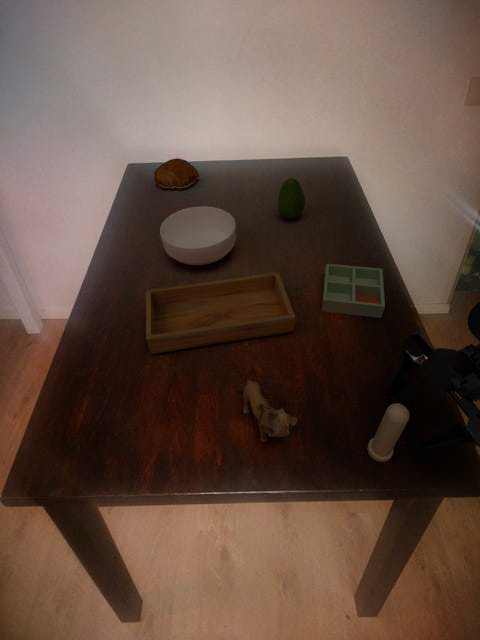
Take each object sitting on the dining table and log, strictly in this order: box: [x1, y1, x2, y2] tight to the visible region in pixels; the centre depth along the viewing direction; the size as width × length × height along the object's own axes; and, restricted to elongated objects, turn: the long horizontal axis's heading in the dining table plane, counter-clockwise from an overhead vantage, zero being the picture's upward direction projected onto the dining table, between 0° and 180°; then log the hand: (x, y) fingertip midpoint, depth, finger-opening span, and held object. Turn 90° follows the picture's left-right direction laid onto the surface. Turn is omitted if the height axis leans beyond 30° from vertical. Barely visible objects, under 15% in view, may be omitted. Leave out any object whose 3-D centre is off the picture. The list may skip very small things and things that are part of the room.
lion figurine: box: [237, 380, 298, 443], centre depth 66 cm, size 15×5×9 cm, turn 35°
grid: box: [321, 263, 386, 319], centre depth 89 cm, size 13×13×4 cm
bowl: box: [159, 205, 237, 266], centre depth 102 cm, size 20×20×8 cm
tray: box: [145, 271, 296, 355], centre depth 85 cm, size 31×15×6 cm, turn 100°
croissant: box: [153, 157, 200, 192], centre depth 131 cm, size 14×16×8 cm
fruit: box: [277, 177, 306, 220], centre depth 111 cm, size 8×8×12 cm
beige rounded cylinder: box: [366, 403, 411, 463], centre depth 59 cm, size 4×4×13 cm
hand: (402, 420), depth 58 cm, fingers open, 9 cm apart
